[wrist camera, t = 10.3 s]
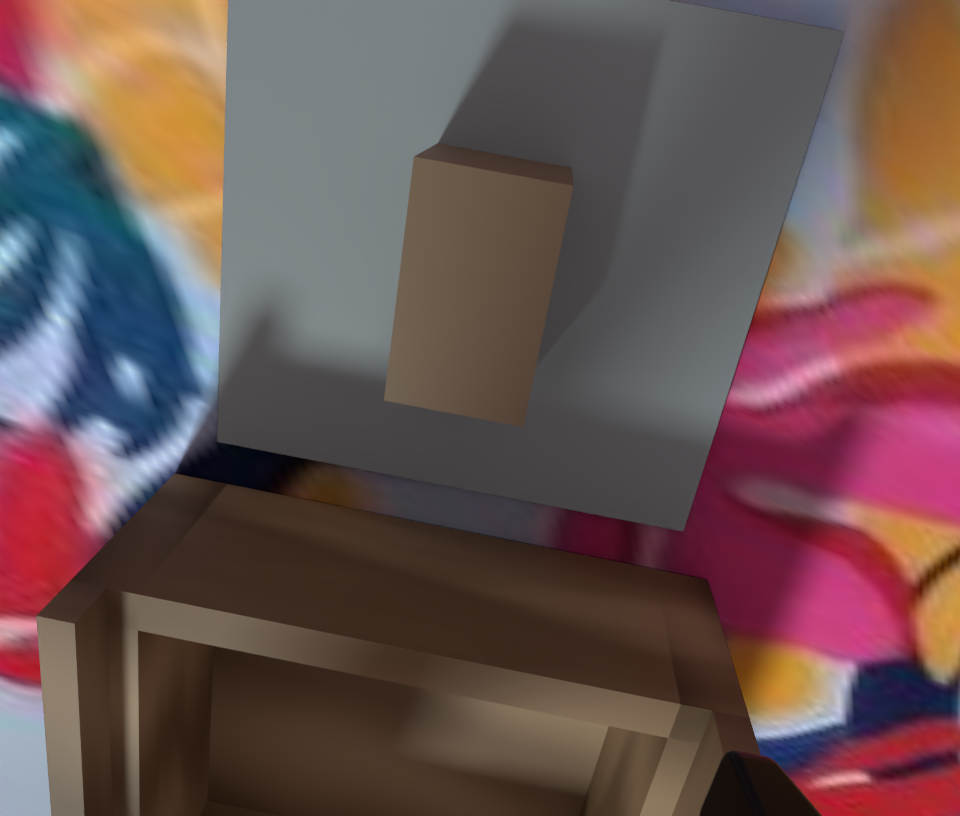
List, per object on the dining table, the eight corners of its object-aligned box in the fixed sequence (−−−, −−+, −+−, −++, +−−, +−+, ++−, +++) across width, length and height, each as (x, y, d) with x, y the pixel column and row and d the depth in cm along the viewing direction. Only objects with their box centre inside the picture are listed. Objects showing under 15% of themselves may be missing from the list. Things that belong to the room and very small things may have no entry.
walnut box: (597, 887, 26) (609, 1110, 21) (170, 799, 27) (64, 995, 21) (707, 579, 21) (763, 763, 15) (174, 473, 21) (36, 615, 16)
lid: (678, 511, 21) (702, 603, 18) (231, 426, 22) (164, 498, 18) (829, 33, 16) (905, 22, 13) (248, -70, 17) (159, -110, 13)
